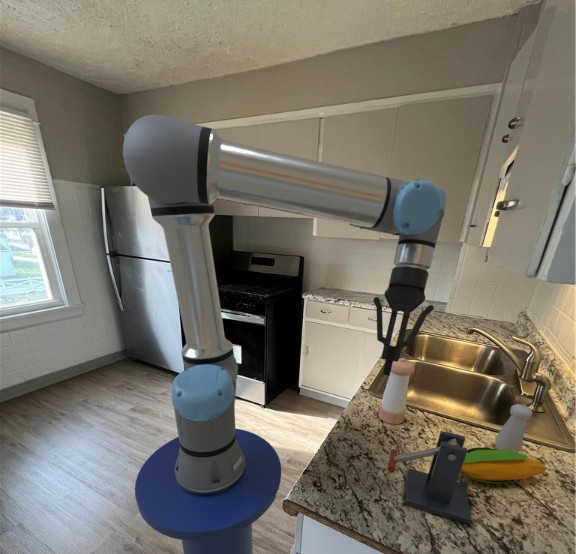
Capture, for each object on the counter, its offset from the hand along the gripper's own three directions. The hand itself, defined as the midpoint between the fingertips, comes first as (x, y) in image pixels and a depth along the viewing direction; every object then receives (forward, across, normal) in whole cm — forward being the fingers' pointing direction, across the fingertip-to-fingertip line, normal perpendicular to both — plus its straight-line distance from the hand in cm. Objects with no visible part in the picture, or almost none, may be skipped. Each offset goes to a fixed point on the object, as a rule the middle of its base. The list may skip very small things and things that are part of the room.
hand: (386, 373), depth 72 cm
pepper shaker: (+16, -5, -20) cm, 26 cm away
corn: (+19, -29, -4) cm, 35 cm away
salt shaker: (+16, -34, -15) cm, 40 cm away
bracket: (+23, -15, +7) cm, 28 cm away
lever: (+14, -11, +9) cm, 20 cm away
